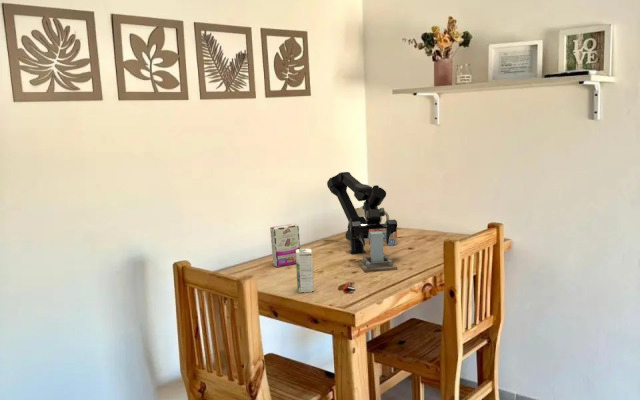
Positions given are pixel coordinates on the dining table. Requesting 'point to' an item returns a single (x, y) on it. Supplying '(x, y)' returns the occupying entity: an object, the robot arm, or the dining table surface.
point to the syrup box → (304, 270)
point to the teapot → (362, 214)
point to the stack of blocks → (391, 241)
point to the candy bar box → (284, 244)
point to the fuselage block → (376, 246)
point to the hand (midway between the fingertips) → (375, 244)
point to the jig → (376, 265)
